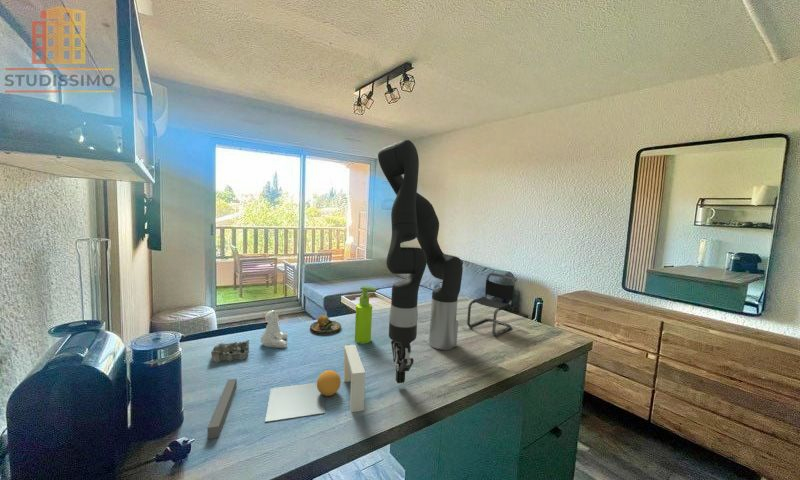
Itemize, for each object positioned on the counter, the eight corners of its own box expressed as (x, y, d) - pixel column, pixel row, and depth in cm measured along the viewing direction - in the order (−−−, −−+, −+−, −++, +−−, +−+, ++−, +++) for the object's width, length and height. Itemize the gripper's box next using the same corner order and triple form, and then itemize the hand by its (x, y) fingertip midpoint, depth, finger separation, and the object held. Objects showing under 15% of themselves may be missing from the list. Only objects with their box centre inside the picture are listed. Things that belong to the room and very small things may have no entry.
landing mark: (321, 382, 84) (321, 382, 84) (325, 413, 72) (325, 412, 72) (270, 388, 80) (270, 388, 80) (264, 422, 68) (264, 421, 68)
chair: (514, 327, 133) (518, 278, 130) (493, 338, 121) (498, 283, 118) (487, 319, 142) (491, 272, 140) (466, 327, 130) (469, 276, 128)
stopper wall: (236, 387, 80) (236, 378, 80) (218, 437, 63) (218, 426, 63) (228, 388, 79) (228, 379, 79) (207, 439, 62) (207, 427, 62)
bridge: (353, 377, 88) (355, 344, 87) (363, 410, 74) (365, 372, 73) (343, 378, 87) (344, 345, 86) (351, 412, 73) (352, 373, 72)
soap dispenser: (370, 344, 109) (373, 290, 107) (352, 342, 110) (354, 288, 108) (375, 338, 115) (377, 286, 113) (357, 335, 116) (359, 284, 114)
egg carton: (209, 365, 91) (209, 352, 91) (214, 353, 98) (214, 341, 97) (247, 360, 95) (247, 348, 94) (250, 349, 101) (250, 338, 101)
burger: (345, 332, 119) (345, 314, 118) (315, 338, 113) (315, 318, 112) (334, 322, 129) (334, 305, 128) (306, 327, 123) (306, 309, 122)
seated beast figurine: (287, 348, 103) (287, 314, 102) (259, 351, 100) (259, 316, 99) (287, 337, 112) (287, 305, 111) (261, 339, 109) (261, 306, 108)
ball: (344, 374, 83) (328, 361, 82) (346, 387, 78) (329, 373, 76) (327, 391, 83) (311, 378, 81) (329, 405, 77) (311, 391, 75)
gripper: (425, 329, 77) (421, 394, 79) (408, 311, 90) (405, 367, 92) (397, 331, 75) (393, 398, 77) (383, 313, 88) (380, 370, 89)
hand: (400, 381), depth 84 cm, fingers closed
